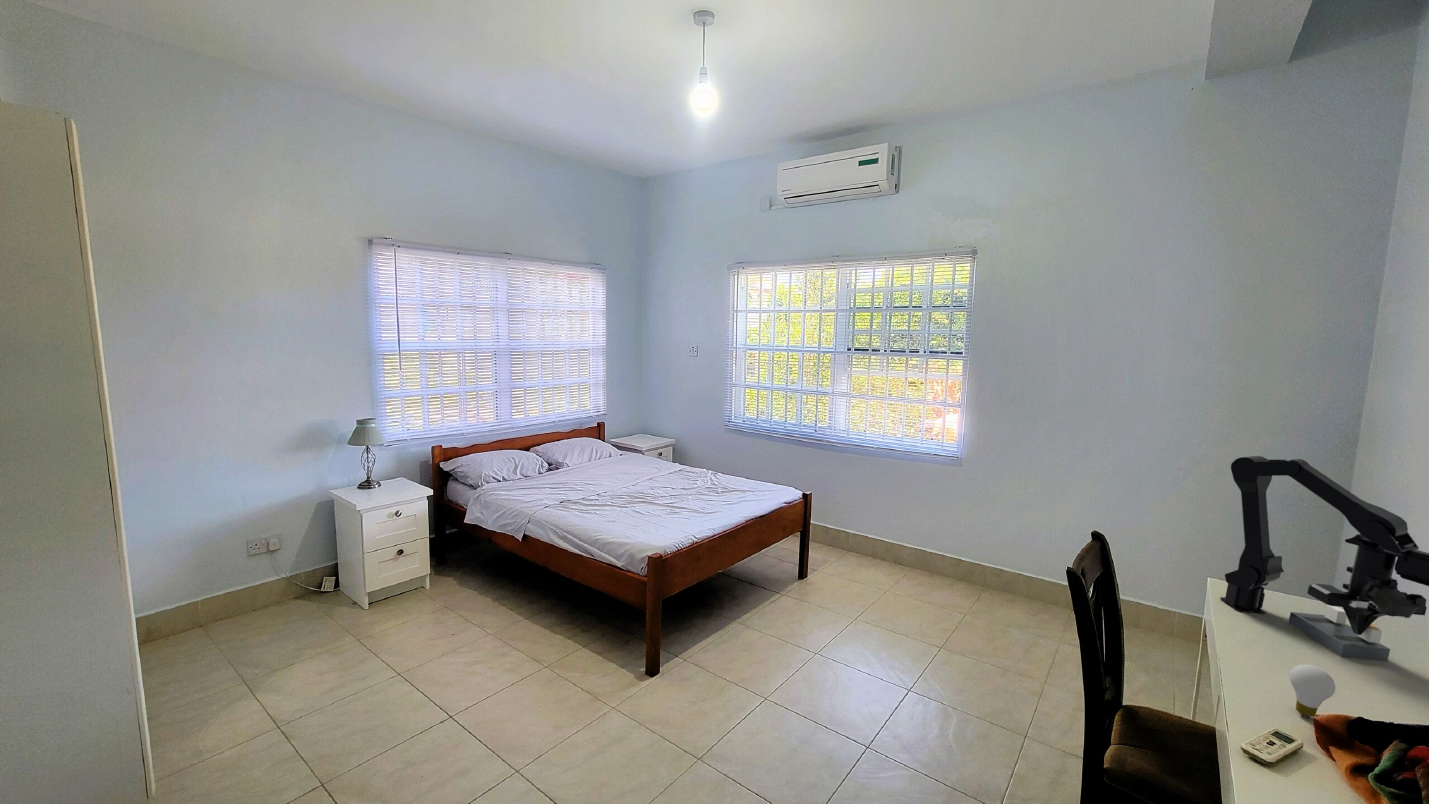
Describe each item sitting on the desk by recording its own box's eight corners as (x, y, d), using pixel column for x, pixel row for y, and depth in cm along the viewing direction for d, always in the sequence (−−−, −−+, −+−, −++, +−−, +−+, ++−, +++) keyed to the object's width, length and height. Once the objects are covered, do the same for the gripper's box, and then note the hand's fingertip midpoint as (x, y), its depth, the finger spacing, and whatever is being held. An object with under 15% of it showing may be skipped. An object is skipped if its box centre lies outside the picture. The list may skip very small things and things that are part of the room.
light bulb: (1336, 729, 104) (1348, 679, 102) (1298, 724, 105) (1309, 674, 103) (1310, 708, 110) (1320, 660, 108) (1274, 702, 111) (1284, 655, 109)
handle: (1335, 622, 135) (1338, 611, 135) (1324, 616, 138) (1326, 604, 138) (1345, 623, 135) (1347, 612, 134) (1333, 617, 138) (1336, 605, 137)
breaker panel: (1340, 656, 127) (1343, 644, 127) (1288, 623, 141) (1290, 611, 140) (1387, 661, 126) (1390, 648, 126) (1329, 627, 140) (1332, 615, 139)
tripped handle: (1368, 642, 127) (1372, 628, 127) (1356, 634, 130) (1359, 621, 130) (1379, 643, 127) (1382, 629, 127) (1366, 635, 130) (1369, 622, 130)
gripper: (1358, 581, 120) (1342, 649, 122) (1463, 591, 117) (1444, 660, 120) (1312, 558, 131) (1298, 621, 133) (1407, 567, 128) (1391, 631, 131)
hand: (1356, 633), depth 129 cm, fingers closed
